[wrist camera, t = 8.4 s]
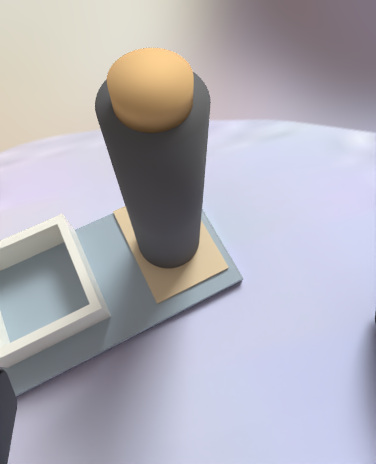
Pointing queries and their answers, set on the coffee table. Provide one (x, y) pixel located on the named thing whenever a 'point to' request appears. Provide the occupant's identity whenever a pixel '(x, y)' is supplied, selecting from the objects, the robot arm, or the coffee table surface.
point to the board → (92, 292)
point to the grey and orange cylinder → (157, 149)
